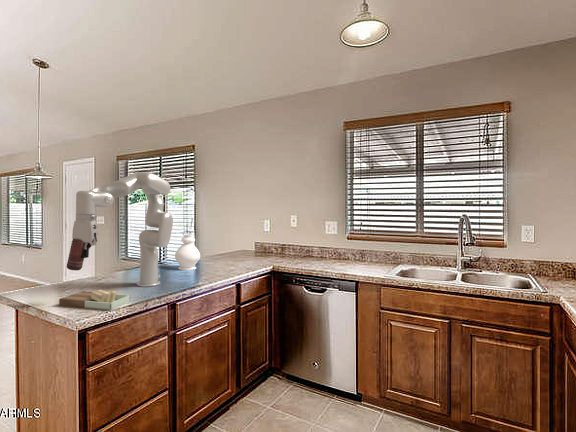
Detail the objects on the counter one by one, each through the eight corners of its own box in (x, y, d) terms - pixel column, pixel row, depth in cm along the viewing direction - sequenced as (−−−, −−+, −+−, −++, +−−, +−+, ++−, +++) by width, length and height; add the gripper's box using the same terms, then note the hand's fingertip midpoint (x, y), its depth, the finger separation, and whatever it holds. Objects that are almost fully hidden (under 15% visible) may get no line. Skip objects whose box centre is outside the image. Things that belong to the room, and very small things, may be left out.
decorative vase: (186, 271, 232) (187, 235, 232) (169, 268, 242) (170, 233, 241) (205, 268, 248) (206, 234, 247) (188, 265, 257) (189, 232, 256)
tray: (106, 299, 161) (106, 293, 161) (130, 301, 159) (130, 295, 159) (84, 308, 147) (84, 301, 147) (110, 310, 145) (111, 303, 145)
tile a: (98, 295, 156) (100, 289, 156) (107, 299, 156) (109, 292, 155) (90, 298, 151) (92, 292, 151) (100, 302, 151) (101, 295, 150)
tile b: (110, 289, 156) (116, 291, 155) (107, 300, 156) (113, 302, 155) (103, 292, 151) (109, 294, 150) (100, 303, 151) (106, 305, 150)
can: (70, 271, 150) (76, 241, 149) (63, 266, 154) (70, 237, 153) (84, 270, 155) (90, 241, 154) (77, 265, 159) (84, 237, 158)
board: (82, 297, 162) (82, 291, 162) (105, 299, 161) (105, 293, 161) (59, 305, 149) (59, 299, 148) (83, 307, 147) (83, 301, 147)
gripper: (105, 218, 156) (104, 257, 157) (76, 217, 158) (75, 255, 159) (94, 218, 149) (93, 259, 150) (64, 217, 151) (63, 257, 152)
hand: (84, 257), depth 154 cm, fingers closed
